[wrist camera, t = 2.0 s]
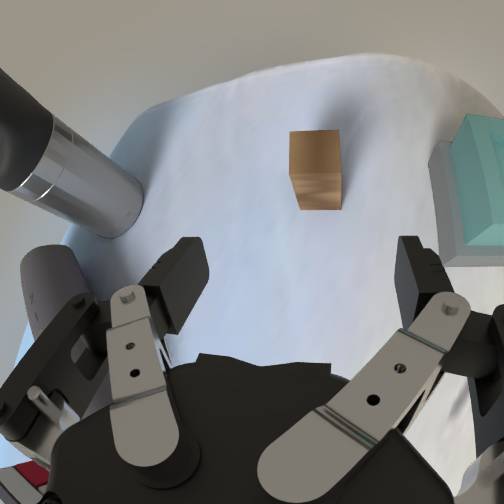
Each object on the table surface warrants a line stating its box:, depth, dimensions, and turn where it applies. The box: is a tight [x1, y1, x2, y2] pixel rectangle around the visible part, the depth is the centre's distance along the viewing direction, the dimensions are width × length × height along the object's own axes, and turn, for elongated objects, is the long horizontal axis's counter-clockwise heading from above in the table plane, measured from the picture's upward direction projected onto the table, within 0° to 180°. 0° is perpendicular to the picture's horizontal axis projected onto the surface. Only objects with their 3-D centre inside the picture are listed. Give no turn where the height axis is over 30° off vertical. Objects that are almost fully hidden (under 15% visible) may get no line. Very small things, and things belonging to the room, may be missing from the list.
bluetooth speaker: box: [20, 245, 113, 420], centre depth 32 cm, size 23×9×10 cm, turn 33°
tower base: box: [428, 114, 504, 267], centre depth 23 cm, size 12×12×11 cm
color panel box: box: [0, 461, 50, 504], centre depth 25 cm, size 11×4×15 cm, turn 76°
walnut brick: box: [289, 130, 342, 210], centre depth 30 cm, size 4×4×8 cm
